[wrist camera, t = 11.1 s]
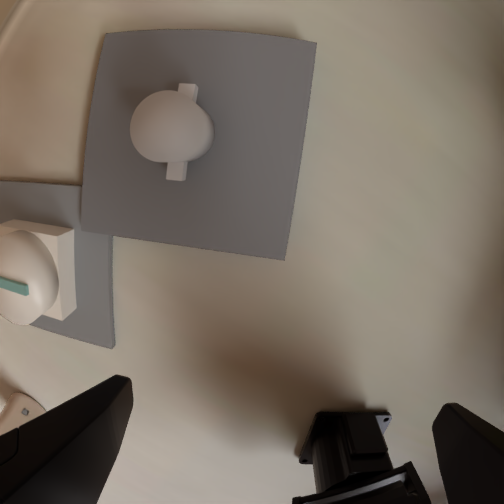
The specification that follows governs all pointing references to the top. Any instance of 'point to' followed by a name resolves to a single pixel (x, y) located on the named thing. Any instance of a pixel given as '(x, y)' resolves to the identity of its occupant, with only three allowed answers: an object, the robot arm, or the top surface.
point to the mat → (85, 256)
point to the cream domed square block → (36, 271)
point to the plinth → (239, 157)
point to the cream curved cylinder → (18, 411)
